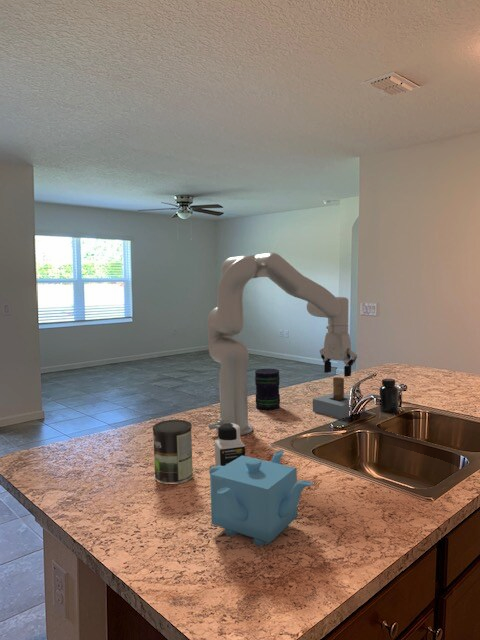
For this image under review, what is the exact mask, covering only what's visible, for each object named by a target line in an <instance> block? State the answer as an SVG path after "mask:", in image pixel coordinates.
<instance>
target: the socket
mask: <svg viewBox="0 0 480 640" xmlns="http://www.w3.org/2000/svg"><path fill="white" fill-rule="evenodd" d="M350 396H351V395H350V394H345V393H344V401H340V402H339V401H335V400H333V393H329V394H326V395H322V396H319V397H314V398H312V412H314V413H316V414H321V415H324V416H328V417H331V418H334V419H339V420H343V419H342V418H344V419H346V418H345V417H347V418H349V417H348V416H349V411H350V407H349V400H350ZM365 412H366V405H365V406H364V408H363V409H362V411H361V413H360V414H362V413H365Z"/></svg>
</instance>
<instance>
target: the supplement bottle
mask: <svg viewBox="0 0 480 640" xmlns="http://www.w3.org/2000/svg"><path fill="white" fill-rule="evenodd" d="M380 398H381V405H380V404H379V410H380V411H381V412H383V413H397V412H398V411H399V388H398V387H397V386H396V380H395V378H383V379H381V386H380V387H379V399H380Z"/></svg>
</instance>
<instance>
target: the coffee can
mask: <svg viewBox="0 0 480 640" xmlns="http://www.w3.org/2000/svg"><path fill="white" fill-rule="evenodd" d="M192 427H193V425H192V422H190V421H187V420H185V419H167V420H163V421H160V422H157V423H155V424H153V426H152V436H153V456H154V457H153V458H154V479H155V478H156V480H158V481H160V482H162V483H181V482H184V483H186V482H185V481H187V482H188V480H189V481H190V480H191V479H192V478H193V477H194V472H193V471H194V469H193V468H194V467H193V441H192V440H193V439H192ZM192 476H193V477H192ZM156 480H155V481H156ZM181 484H182V483H181Z"/></svg>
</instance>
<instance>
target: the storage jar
mask: <svg viewBox="0 0 480 640" xmlns="http://www.w3.org/2000/svg"><path fill="white" fill-rule="evenodd" d="M254 373H255V374H254V375H255V376H254V381H255V382H254V383H255V405H256V406H255V409H257V410H258V411H260V412H261V411H262V412H272V411H277V410H279V409H281V405H280V404H281V403H280V402H281V398H280V395H281V394H280V370H279V369H276V368H260V369H255V370H254Z"/></svg>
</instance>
